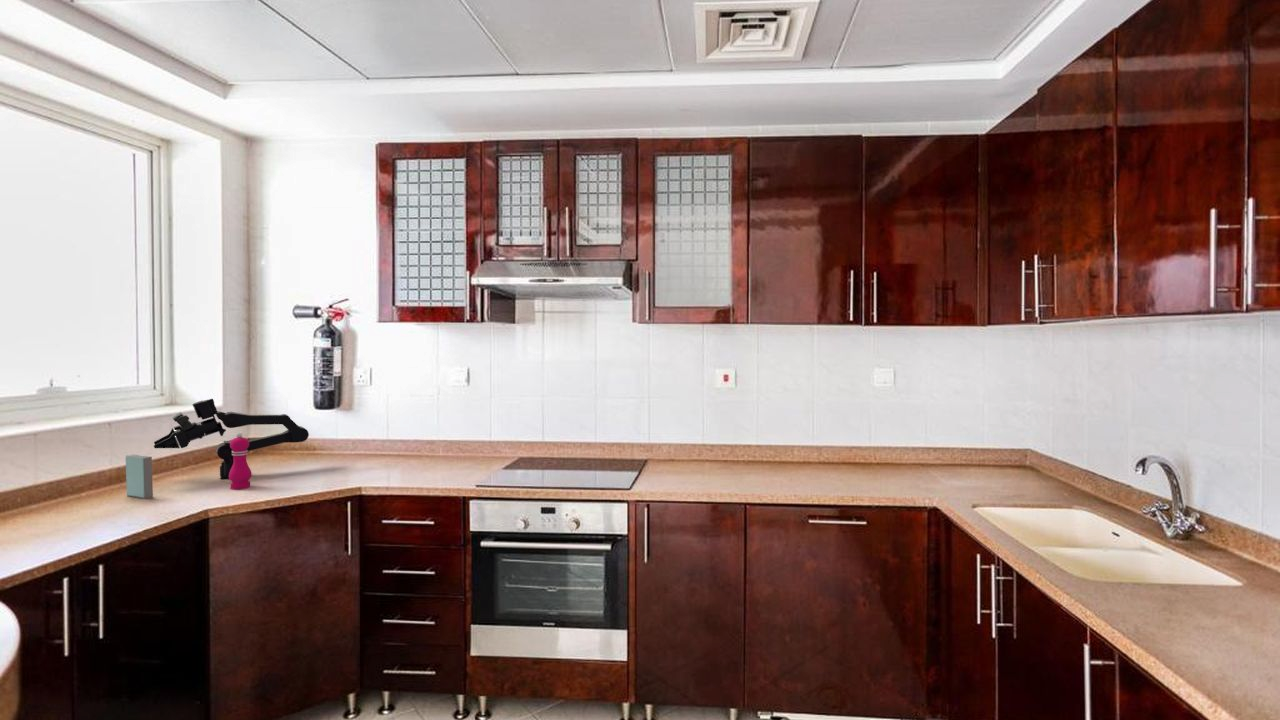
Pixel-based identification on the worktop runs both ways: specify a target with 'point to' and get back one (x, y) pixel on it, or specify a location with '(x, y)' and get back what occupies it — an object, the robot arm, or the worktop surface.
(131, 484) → the tile
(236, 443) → the pepper mill
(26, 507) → the worktop surface
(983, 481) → the worktop surface
